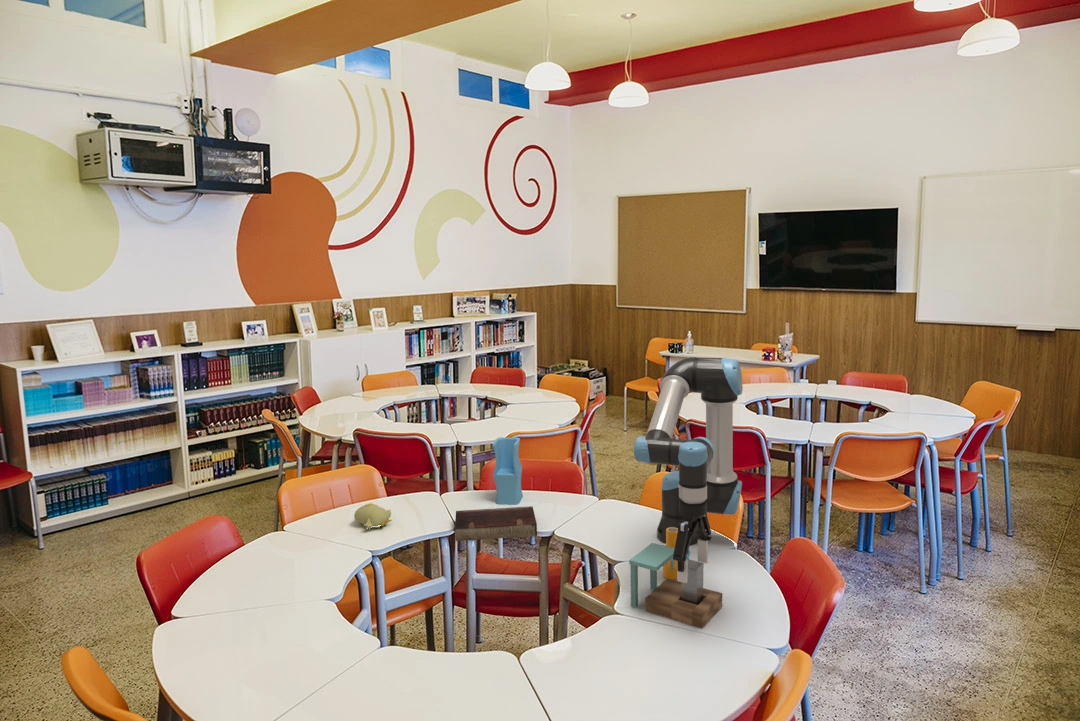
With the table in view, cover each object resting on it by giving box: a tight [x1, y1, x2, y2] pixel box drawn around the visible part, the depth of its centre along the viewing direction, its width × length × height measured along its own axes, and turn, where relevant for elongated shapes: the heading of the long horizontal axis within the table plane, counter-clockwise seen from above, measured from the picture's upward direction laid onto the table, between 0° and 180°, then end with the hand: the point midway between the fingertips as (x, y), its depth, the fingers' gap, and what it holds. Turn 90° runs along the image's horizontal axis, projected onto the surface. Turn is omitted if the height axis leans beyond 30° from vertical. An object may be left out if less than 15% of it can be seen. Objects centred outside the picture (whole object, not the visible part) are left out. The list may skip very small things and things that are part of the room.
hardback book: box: [454, 505, 538, 542], centre depth 265 cm, size 29×19×5 cm, turn 95°
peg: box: [681, 558, 704, 605], centre depth 201 cm, size 4×4×14 cm
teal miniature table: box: [628, 542, 675, 608], centre depth 208 cm, size 14×8×14 cm, turn 144°
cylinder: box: [662, 527, 691, 581], centre depth 223 cm, size 12×10×15 cm
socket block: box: [644, 578, 723, 629], centre depth 204 cm, size 14×17×4 cm
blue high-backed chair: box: [491, 436, 524, 506], centre depth 292 cm, size 10×10×25 cm
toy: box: [353, 503, 392, 530], centre depth 272 cm, size 15×9×15 cm
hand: (692, 571), depth 201 cm, fingers open, 13 cm apart
